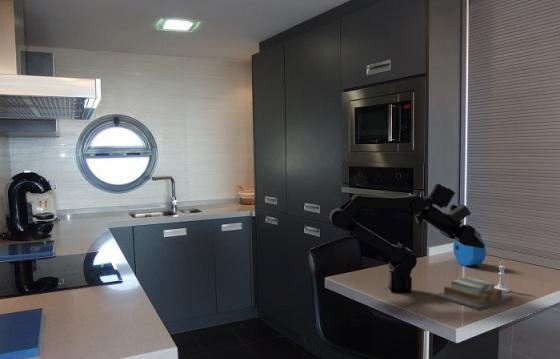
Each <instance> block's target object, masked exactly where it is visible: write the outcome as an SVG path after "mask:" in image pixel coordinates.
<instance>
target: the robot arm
mask: <svg viewBox="0 0 560 359" xmlns="http://www.w3.org/2000/svg"><path fill="white" fill-rule="evenodd" d="M455 195H456V191H454V190H452V189H451V188H448V187H446V186H444V185H442V184H440V183H435V185H434V187H433V189H432V190H431V192H430V193H429V195H428V196H425V195H424V196H418V195H415V194H404V195H398V196H380V195H379V196H378V195H363V194H361V195H360V194H354V195H352V197H351V198H349V200H347V201H346V202H344V203H342V204H341V205H340V206H339V207H337V208H334V209H332V210H331V211H330V213H329V221H330V222H331V223H332V225H333V227H336V228H338V229H341V230H343V231H346V232H347V233H348V232H349V233H352V234H354V235H355V236H357V237H359V238H360V239H362V240H364V241H365V242H367V243H368V244H369V245H372V246H373V247H375V248H376V249H378V250H379V251H381V252H383V253H384V254H386V255H387V256H389V257H390V258H391V260H390V261H388V263H387V264H388V268H389V272H388V276H389V277H388V279H389V280H388V284H389V285H387V288H388V289H389V291H390V292H391V293H392V294H393V293H394V294H395V293H399V294H403V293H407V294H408V293H409V294H410V293H411V294H412V289H413V288H412V287H413V285H412V284H413V282H412V280H413V278H412V276H411V273H412V270H413V269H414V268H416V265H417V262H418V260H417V257H416V255H415V254H413V253H414V251H412V249H410V248H409V247H406V246H404V245H403V244H401V243H400V242H397V243H396V245H395V244H394V243H393V244H392V243H391V242H390V241H387V240H386V239H384V238H382V237H381V236H379V235H378V234H376V233H374V232H373V231H372V230H370V229H368V228H366V227H365V226H363V225H361V224H360V223H359V222H357V221H356V220H355V219H354V218H353V216H354V215H355V213H357V212H358V210H359V209H361V208H375V209H376V208H377V209H378V208H379V209H394V210H398V211H399V210H400V211H403V212H407V213H411V214H416V215H414V218H415V223H417V224H418V225H421V224H422V223H423V221H424V222H425V223H427V224H429V225H430V226H432V227H433V228H434V229H436V230H438V231H439V233H440V234H441V235H443V236H444V237H447V238H449V239H452V240H456V241H457V242H459V243H461V244H462V245H465V246H472V247H478V248H484V246H485V247H486V244H485V243H484V244H485V245H484V244H483V243H482V242H481V241H480V240H479V239H478V238H477V237H476V236H475V231H476V228H474V227H473V226H471V225H469V224H462V223H463V222H462V221H463V220H464V219H465V218H467V217H469V216H470V215H471V214H472V212H471V211H470V209H469V208H468V207H467V206H466V205H465V204H458V205H456V204H451V205H450V206H449V204H450V203H451V201H452V200H453V198H454V197H455ZM448 206H449V213H446V212H444V211H442V210H440V209H443V208H444V209H445V208H447V207H448Z"/></svg>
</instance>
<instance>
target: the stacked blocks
mask: <svg viewBox="0 0 560 359" xmlns="http://www.w3.org/2000/svg"><path fill="white" fill-rule="evenodd" d="M494 287H495V283H494V282H490V281H487V280H482V279H480V278H474V277H471V276H467V277H462V278H459V279H456V280H451V284H450V285H448V286H444V287H443V289H444V290H443V292H444V294H446V295H450V296H453V297H456V298H460V299H463V300H467V301H470V302H474V303H477V304H482V303H485V302H488V301H491V300H494V299H497V298H500V297H501V296H502V294H503V292H502V290H500V289H496V288H494Z"/></svg>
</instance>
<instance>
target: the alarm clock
mask: <svg viewBox="0 0 560 359" xmlns="http://www.w3.org/2000/svg"><path fill="white" fill-rule="evenodd" d="M475 236H476V237H477V238H478V239H479V240H480V241H481V242H482V243H483V244H484V245H485V246H484V248H478V247H472V246H465V245H462V244H461V243H459V242H457V241H456V240H455V239H453V240H454V241H453V244H452V245H453V248H452V249H453V250H452V251H453V255H454V257H455V259H456V261H457V262H458V263H459V264H460V265H462V266H463V267H469V266H477V267H478V268H480V265H481V264H482V263H483V262H484V261H485V259H486V256H487V248H486V244H485V242H484V240H483V238H482V234H481V233H480V231H478V230H475Z"/></svg>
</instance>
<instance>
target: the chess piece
mask: <svg viewBox="0 0 560 359" xmlns="http://www.w3.org/2000/svg"><path fill="white" fill-rule="evenodd" d="M498 264H500V265H498V269H499V272H497V273H498V275H500V276H499V281H498V284H497V285H494V288H496V289H500V290H502V293H510V292H511V290H510V288H509V287H507V286H506V284H505V276H504V275H506V272H505V269H506V266H505V265H506V262H504V260H501V261H499V263H498Z"/></svg>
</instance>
